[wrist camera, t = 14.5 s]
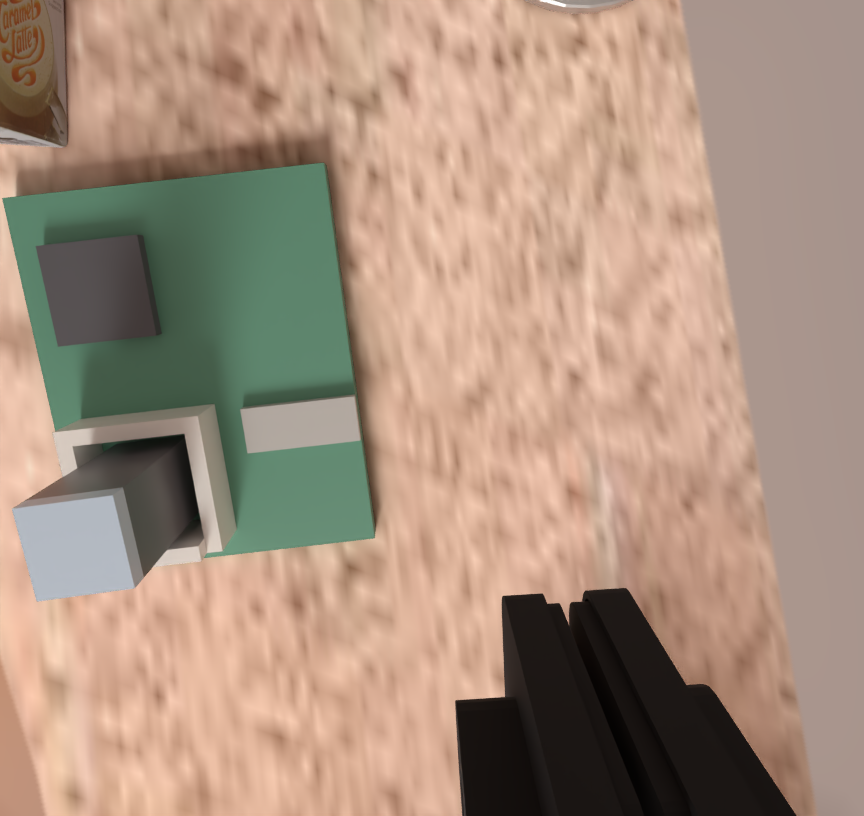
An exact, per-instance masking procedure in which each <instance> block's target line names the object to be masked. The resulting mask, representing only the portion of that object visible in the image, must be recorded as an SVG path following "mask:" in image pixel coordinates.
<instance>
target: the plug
mask: <svg viewBox="0 0 864 816" xmlns="http://www.w3.org/2000/svg"><path fill="white" fill-rule="evenodd" d="M12 511H13V515H14V519H15V522H16V526H17V530H18V533H19V537H20V541H21V545H22V548H23V552H24V556H25V559H26V563H27V567H28V571H29V574H30V578H31V582H32V585H33V589H34V593H35V597H36V600H37V601H44V600H52V599H59V598H67V597H74V596H82V595H89V594H96V593H104V592H111V591H119V590H126V589H133V588H135V587H136V586H137V585H138V584H139V583H140V581H141V580H142V579H143V578H144V577H145V576H146V574H147V573H148V572H149V571H150V570H151V568H152V567H153V566H154V565H155V564H156V562H157V561H158V560H159V559H160V558H161V557H162V555H163V554H164V553H165V552H166V551H167V549H168V548H169V547H170V546H171V545H172V543H173V542H174V541H175V540H176V539H177V537H178V536H179V535H180V534H181V533H182V532H183V530H184V529H185V528H186V527H187V526H188V524H189V523H190V522H191V521H192V520H193V518H194V517H195V516H196V515H197V514H198V512H199V508H198V503H197V498H196V492H195V487H194V482H193V477H192V471H191V466H190V461H189V455H188V450H187V445H186V439H185V435H181V436H173V437H166V438H158V439H151V440H143V441H136V442H129V443H121V444H115V445H114V446H112V447H111V448H109V449H107V450H106V451H104V452H103V453H101V454H99V455H98V456H96V457H95V458H93V459H91V460H90V461H88V462H87V463H85V464H83V465H82V466H80V467H78V468H77V469H75V470H74V471H72V472H70V473H69V474H67V475H66V476H64V477H62V478H61V479H59V480H58V481H56V482H54V483H53V484H51V485H49V486H48V487H46V488H45V489H43V490H41V491H40V492H38V493H37V494H35V495H33V496H32V497H30V498H29V499H27V500H25V501H24V502H22V503H21V504H19V505H17V506H16V507H14V508H12Z"/></svg>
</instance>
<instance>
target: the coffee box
mask: <svg viewBox="0 0 864 816" xmlns="http://www.w3.org/2000/svg"><path fill="white" fill-rule="evenodd" d="M0 144H11V145H26V146H43V147H62V148H63V147H65V146H66V145H67V103H66V73H65V30H64V1H63V0H0Z"/></svg>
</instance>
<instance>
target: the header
mask: <svg viewBox="0 0 864 816" xmlns="http://www.w3.org/2000/svg"><path fill="white" fill-rule="evenodd" d="M177 434H185V439H186V445H187V450H188V455H189V461H190V466H191V471H192V477H193V482H194V487H195V492H196V498H197V503H198V508H199V514H200V519H201V520H192V521H191V522H190V523H189V524H188V526H187V527H186V528H185V529H184V530H183V532H182V533H181V534H180V535H179V536H178V537H177V539H176V540H175V541H174V542H173V543H172V545H171V546H170V547H169V548H168V549H167V551H166V552H165V553H164V554H163V555H162V557H161V558H160V559H159V560H158V561H157V562H156V564H155V565H154V566H153V567H157V566H165V565H174V564H183V563H191V562H200V561H202V560H203V558H204V557H205V555H206V554H207V553H212V552H221V551H223V550H224V548H225V547H226V545H227V544H228V542H229V541H230V539H231V538H232V536H233V534H234V533H235V531H236V530H237V527H236V522H235V516H234V511H233V505H232V499H231V494H230V488H229V483H228V477H227V471H226V466H225V460H224V454H223V449H222V443H221V438H220V432H219V426H218V421H217V415H216V409H215V404H208V405H200V406H191V407H182V408H173V409H165V410H156V411H147V412H138V413H129V414H121V415H112V416H103V417H94V418H85V419H80V420H78V421H76V422H74V423H71V424H69V425H67V426H65V427H63V428H61V429H59V430H57V431H55V432H53V437H54V441H55V446H56V450H57V454H58V459H59V463H60V467H61V472H62V476H63V477H64V476H66V475H67V474H69V473H70V472H72V471H74V470H75V469H77V468H78V467H80V466H82V465H83V464H85V463H87V462H88V461H90V460H91V459H93V458H95V457H96V456H98V455H99V454H101V453H103V448H102V443H107V442H116V441H125V440H133V439H142V438H151V437H160V436H168V435H177Z"/></svg>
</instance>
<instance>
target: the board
mask: <svg viewBox="0 0 864 816" xmlns="http://www.w3.org/2000/svg"><path fill="white" fill-rule="evenodd" d="M2 199H3V203H4V208H5V212H6V216H7V221H8V225H9V230H10V234H11V238H12V243H13V247H14V252H15V256H16V260H17V265H18V269H19V273H20V278H21V282H22V287H23V291H24V295H25V300H26V304H27V308H28V313H29V317H30V322H31V326H32V330H33V335H34V339H35V344H36V348H37V352H38V357H39V361H40V365H41V370H42V374H43V379H44V383H45V387H46V392H47V396H48V401H49V405H50V409H51V414H52V418H53V422H54V427H55V431H57V430H59V429H61V428H63V427H65V426H67V425H69V424H71V423H74V422H76V421H78V420H80V419H85V418H94V417H103V416H112V415H121V414H129V413H138V412H147V411H156V410H165V409H173V408H182V407H191V406H200V405H208V404H215V409H216V415H217V421H218V426H219V432H220V438H221V443H222V449H223V454H224V460H225V466H226V471H227V477H228V483H229V488H230V494H231V499H232V505H233V511H234V516H235V522H236V527H237V530H236V531H235V533H234V534H233V536H232V538H231V539H230V541H229V542H228V544H227V545H226V547H225V548H224V550H223V551H221V552H212V553H207V554H206V555H205V557H204V558H208V557H217V556H226V555H234V554H243V553H252V552H260V551H269V550H278V549H286V548H295V547H303V546H312V545H321V544H329V543H338V542H347V541H355V540H364V539H373V538H375V531H376V530H375V522H374V515H373V507H372V500H371V492H370V485H369V478H368V470H367V463H366V455H365V448H364V440H363V433H362V425H361V418H360V411H359V403H358V396H357V388H356V381H355V373H354V366H353V358H352V351H351V344H350V336H349V329H348V321H347V314H346V306H345V299H344V291H343V284H342V277H341V269H340V262H339V254H338V247H337V239H336V232H335V224H334V217H333V209H332V202H331V195H330V187H329V180H328V172H327V166H326V165H325V163H316V164H307V165H298V166H289V167H280V168H271V169H262V170H253V171H244V172H235V173H226V174H217V175H208V176H199V177H190V178H181V179H172V180H162V181H153V182H144V183H135V184H126V185H117V186H108V187H99V188H90V189H81V190H72V191H63V192H54V193H45V194H36V195H27V196H18V197H9V198H2ZM181 435H185V434H177V435H168V436H160V437H151V438H142V439H133V440H125V441H116V442H107V443H102V448H103V452H104V451H106V450H107V449H109V448H111V447H112V446H114V445H115V444H121V443H129V442H136V441H143V440H151V439H158V438H166V437H173V436H181ZM193 520H201V519H200V514H199V512H198V514H197V515H196V516H195V517H194V518H193Z"/></svg>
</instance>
